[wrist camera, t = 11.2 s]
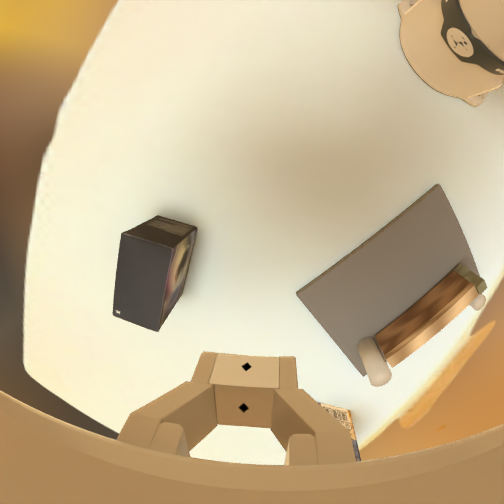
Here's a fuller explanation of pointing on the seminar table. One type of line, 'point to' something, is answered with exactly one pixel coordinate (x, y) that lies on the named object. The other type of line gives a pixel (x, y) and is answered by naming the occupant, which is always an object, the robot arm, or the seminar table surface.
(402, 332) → the gate
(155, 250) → the small box
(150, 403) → the robot arm
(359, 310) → the grey board with posts
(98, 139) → the seminar table surface
